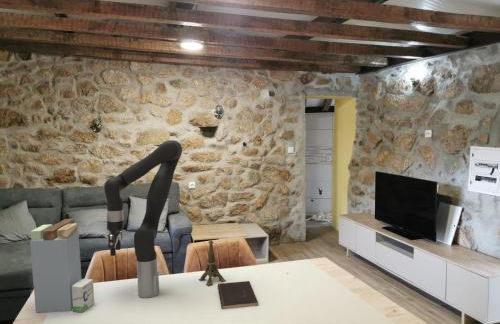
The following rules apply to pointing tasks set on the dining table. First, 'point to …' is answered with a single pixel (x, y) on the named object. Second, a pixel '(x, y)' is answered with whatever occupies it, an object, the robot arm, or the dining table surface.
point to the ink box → (82, 295)
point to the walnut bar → (55, 229)
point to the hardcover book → (236, 295)
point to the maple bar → (67, 231)
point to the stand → (55, 272)
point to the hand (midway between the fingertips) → (115, 252)
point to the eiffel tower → (211, 268)
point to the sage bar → (39, 232)
